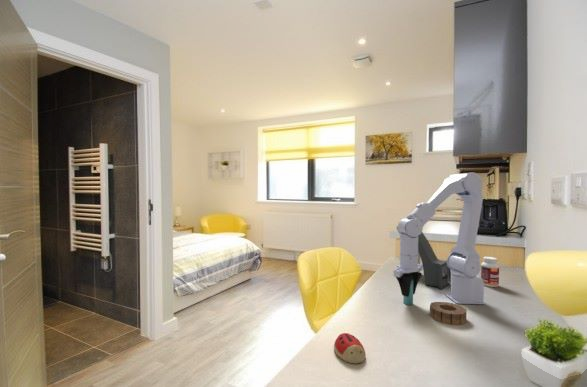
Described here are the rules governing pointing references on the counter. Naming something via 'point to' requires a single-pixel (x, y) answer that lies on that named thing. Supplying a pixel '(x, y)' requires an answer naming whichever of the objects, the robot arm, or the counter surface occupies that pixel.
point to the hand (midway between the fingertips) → (408, 294)
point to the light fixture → (433, 265)
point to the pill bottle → (490, 272)
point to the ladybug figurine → (349, 348)
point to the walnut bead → (448, 313)
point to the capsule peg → (409, 299)
